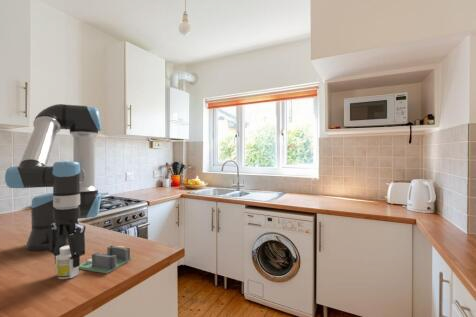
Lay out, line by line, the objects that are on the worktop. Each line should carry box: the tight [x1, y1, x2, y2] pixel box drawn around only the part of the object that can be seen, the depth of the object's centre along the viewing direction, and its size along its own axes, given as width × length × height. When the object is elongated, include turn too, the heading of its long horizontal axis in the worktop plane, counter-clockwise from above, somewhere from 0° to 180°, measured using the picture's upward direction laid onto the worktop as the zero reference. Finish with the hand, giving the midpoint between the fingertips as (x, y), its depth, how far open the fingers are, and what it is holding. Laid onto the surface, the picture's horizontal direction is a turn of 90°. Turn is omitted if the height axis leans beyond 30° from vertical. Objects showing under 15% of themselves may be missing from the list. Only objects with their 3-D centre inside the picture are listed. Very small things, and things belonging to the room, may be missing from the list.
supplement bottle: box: [56, 244, 76, 280], centre depth 82 cm, size 5×5×10 cm
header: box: [91, 245, 131, 269], centre depth 90 cm, size 9×10×4 cm
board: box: [79, 252, 133, 275], centre depth 91 cm, size 14×12×2 cm
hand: (67, 274), depth 82 cm, fingers closed on supplement bottle, 5 cm apart
